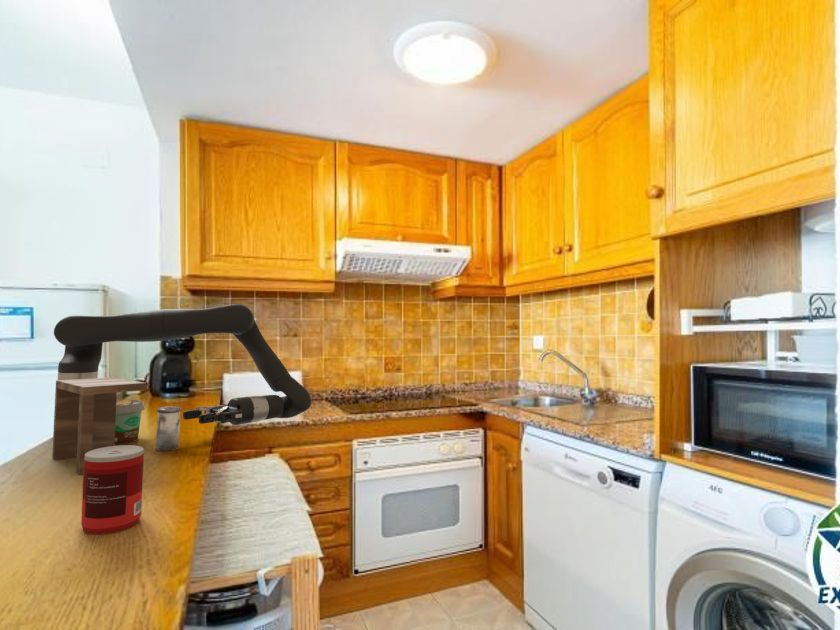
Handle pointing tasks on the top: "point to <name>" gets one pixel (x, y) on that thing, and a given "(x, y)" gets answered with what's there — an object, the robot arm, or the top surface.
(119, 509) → the canned food
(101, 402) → the walnut shelf
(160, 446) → the steel tin
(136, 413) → the food container
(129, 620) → the top surface
